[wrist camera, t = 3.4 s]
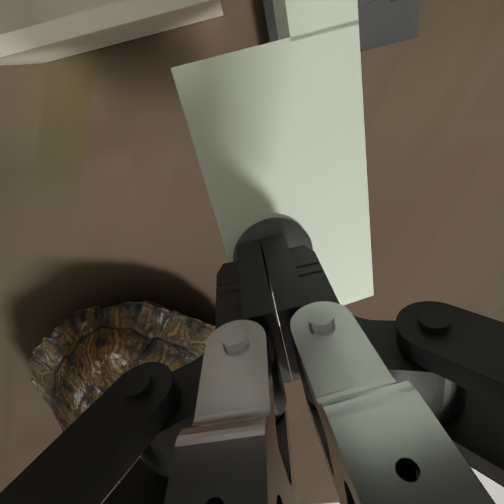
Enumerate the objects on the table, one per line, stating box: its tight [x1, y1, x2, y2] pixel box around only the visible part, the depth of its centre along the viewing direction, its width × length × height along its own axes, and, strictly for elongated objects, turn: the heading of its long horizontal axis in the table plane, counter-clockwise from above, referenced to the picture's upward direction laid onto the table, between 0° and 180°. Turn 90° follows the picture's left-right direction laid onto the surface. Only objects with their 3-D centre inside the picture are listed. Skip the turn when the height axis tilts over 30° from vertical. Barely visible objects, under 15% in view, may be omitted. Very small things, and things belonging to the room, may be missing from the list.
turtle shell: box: [29, 300, 216, 487], centre depth 26 cm, size 16×9×20 cm
